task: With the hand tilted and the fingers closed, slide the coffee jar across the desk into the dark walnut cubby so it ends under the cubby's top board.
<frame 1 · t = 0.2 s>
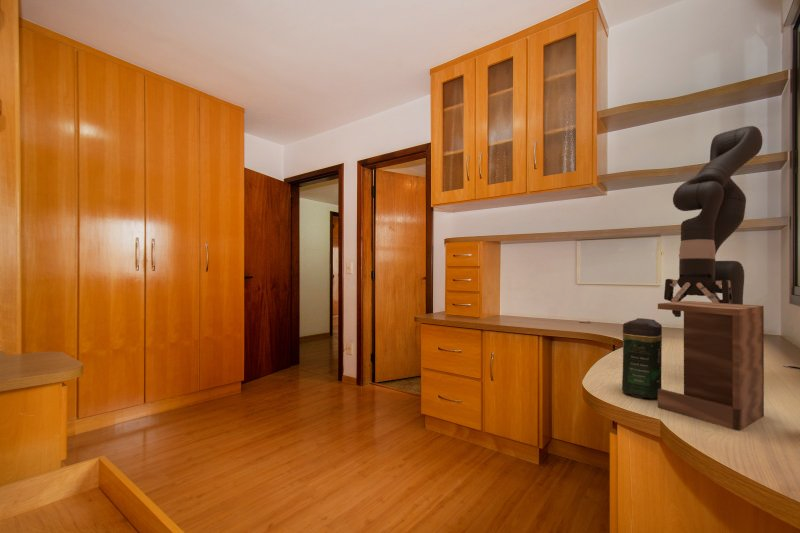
hand: (696, 318, 99), 18 cm above the table, tool pointing down, fingers open, 8 cm apart
coffee jar: (642, 394, 92), on the table
walnut cubby: (709, 411, 81), on the table
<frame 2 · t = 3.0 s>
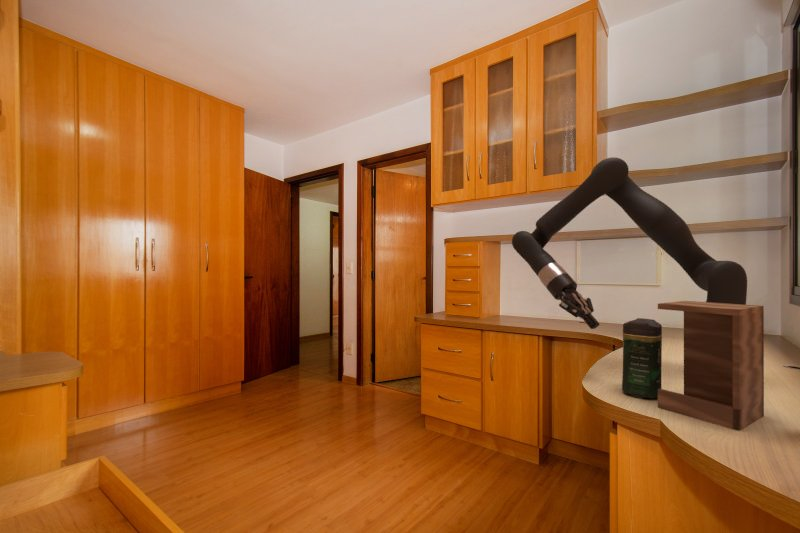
hand: (595, 326, 102), 15 cm above the table, tool tilted 45°, fingers closed
nothing on the table moved.
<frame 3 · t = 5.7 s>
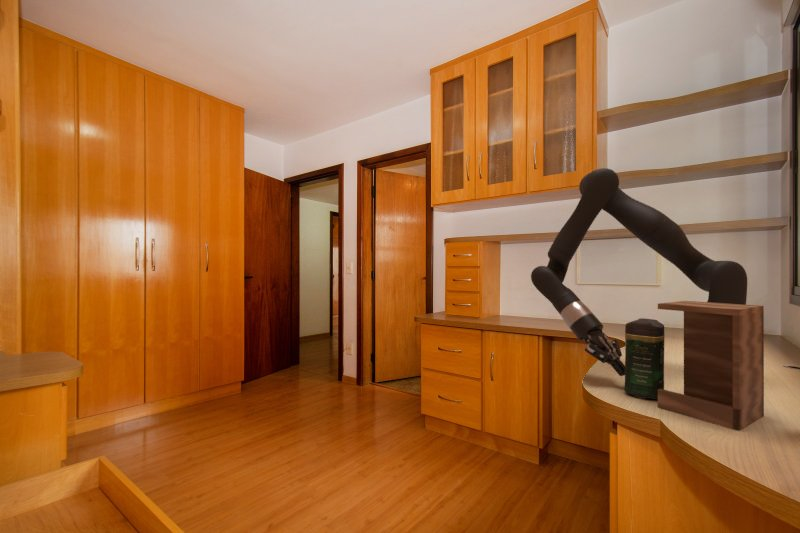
hand: (625, 374, 96), 4 cm above the table, tool tilted 45°, fingers closed
coffee jar: (644, 394, 92), on the table, touching gripper
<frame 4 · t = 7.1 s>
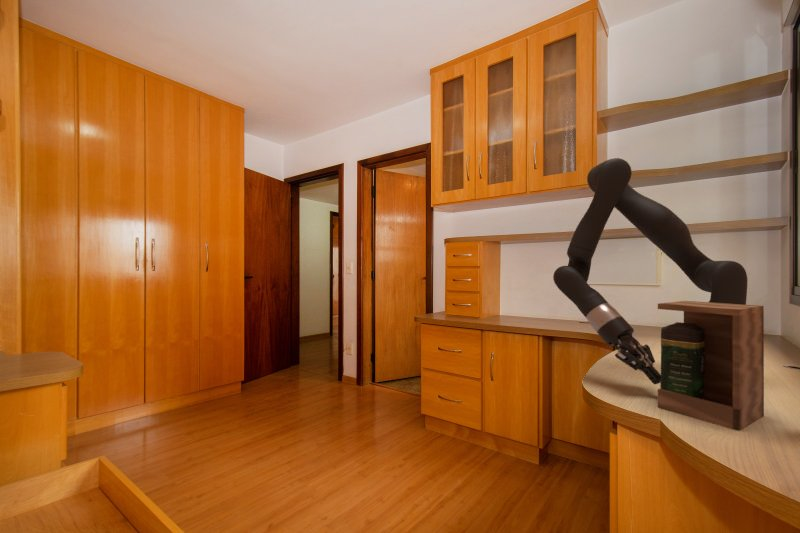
hand: (659, 382, 89), 4 cm above the table, tool tilted 45°, fingers closed
coffee jar: (682, 405, 85), on the table, touching gripper
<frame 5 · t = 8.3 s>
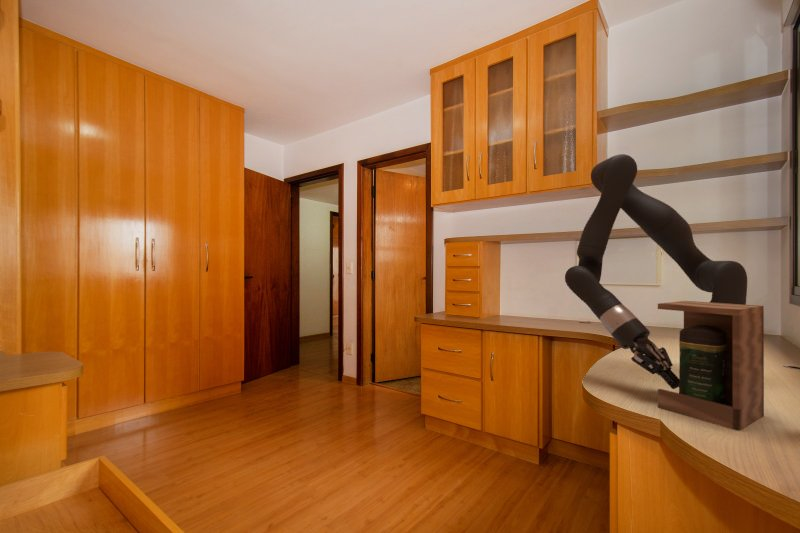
hand: (678, 386, 86), 4 cm above the table, tool tilted 45°, fingers closed
coffee jar: (702, 410, 82), on the table, touching gripper
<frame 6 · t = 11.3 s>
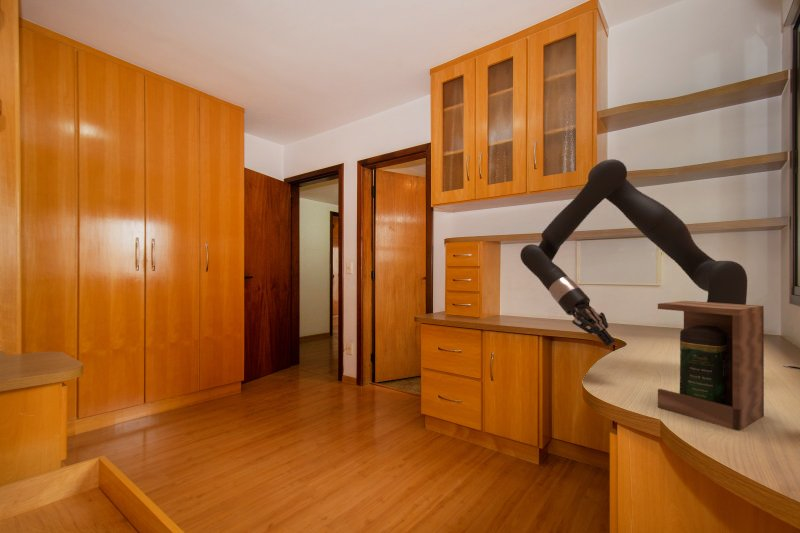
hand: (611, 343, 99), 11 cm above the table, tool tilted 45°, fingers closed
coffee jar: (703, 410, 82), on the table
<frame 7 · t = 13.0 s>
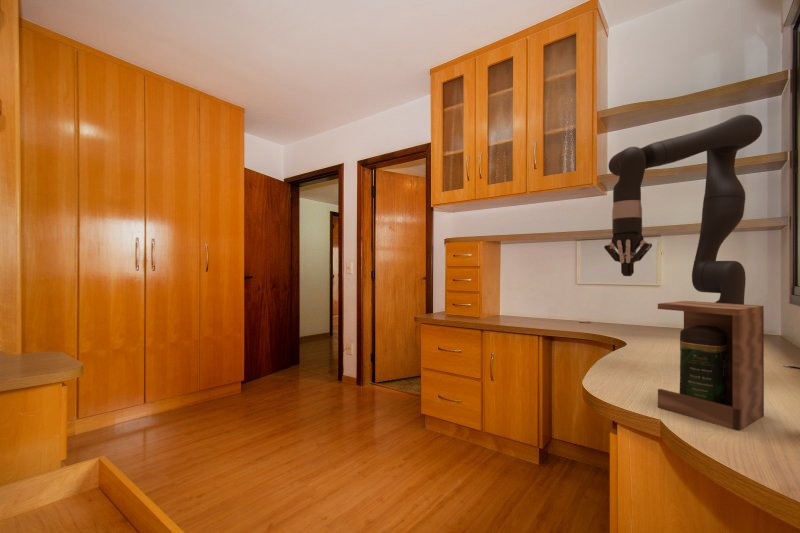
hand: (627, 276, 110), 29 cm above the table, tool pointing down, fingers closed
nothing on the table moved.
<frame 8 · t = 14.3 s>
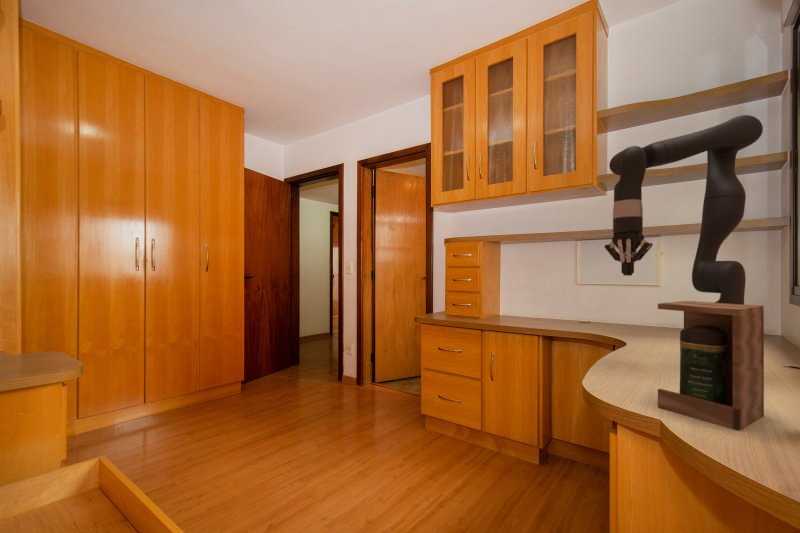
hand: (627, 275, 109), 29 cm above the table, tool pointing down, fingers closed
nothing on the table moved.
at the end: coffee jar inside the target area (1.3 cm from its centre), on the table; coffee jar tilted 0° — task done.
